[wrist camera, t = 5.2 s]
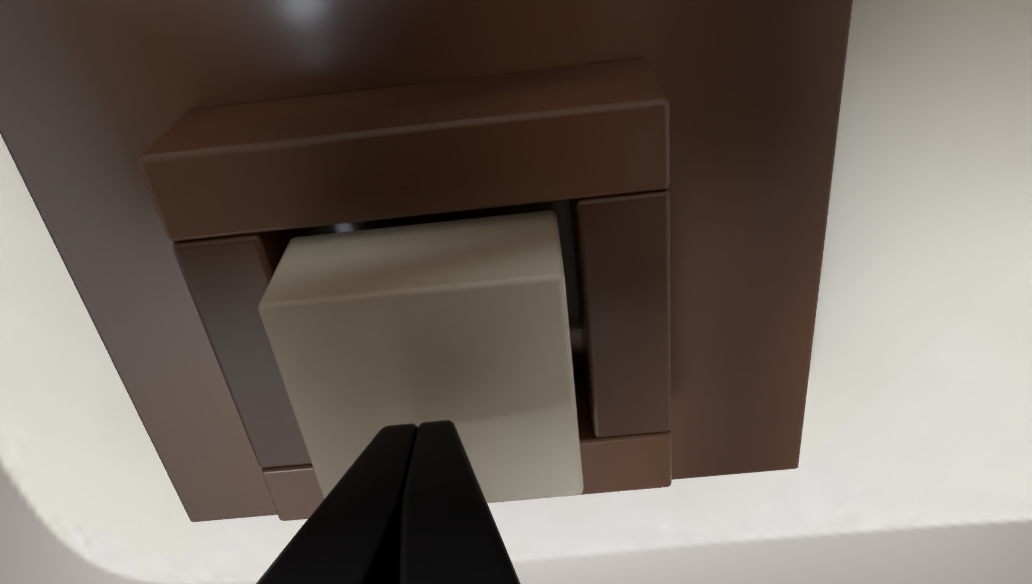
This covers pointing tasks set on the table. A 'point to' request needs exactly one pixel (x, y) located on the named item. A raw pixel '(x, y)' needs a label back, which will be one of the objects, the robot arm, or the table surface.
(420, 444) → the robot arm
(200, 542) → the table surface
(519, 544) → the table surface
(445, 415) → the key
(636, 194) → the key block
